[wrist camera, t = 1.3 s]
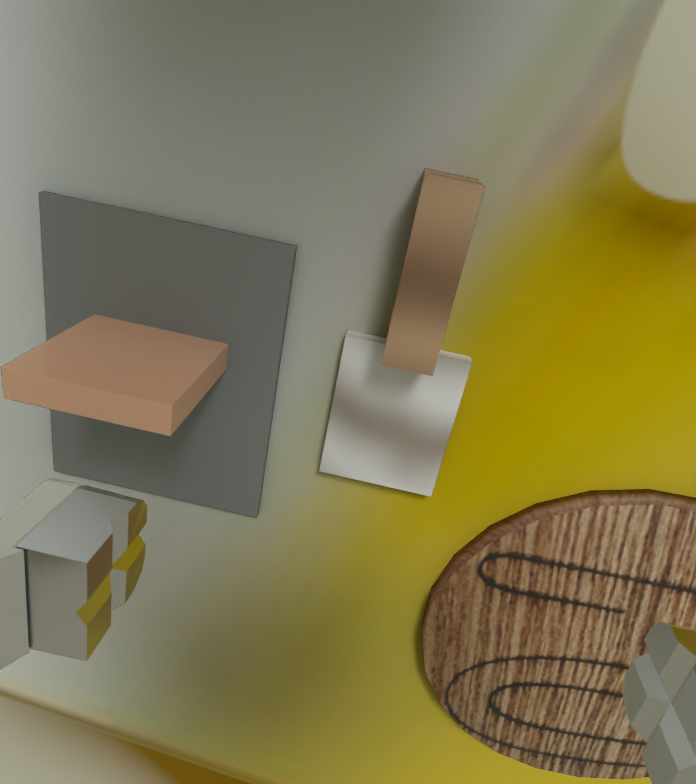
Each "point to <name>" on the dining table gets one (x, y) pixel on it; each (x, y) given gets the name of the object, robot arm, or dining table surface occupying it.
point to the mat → (177, 314)
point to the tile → (118, 373)
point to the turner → (408, 355)
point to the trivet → (560, 625)
